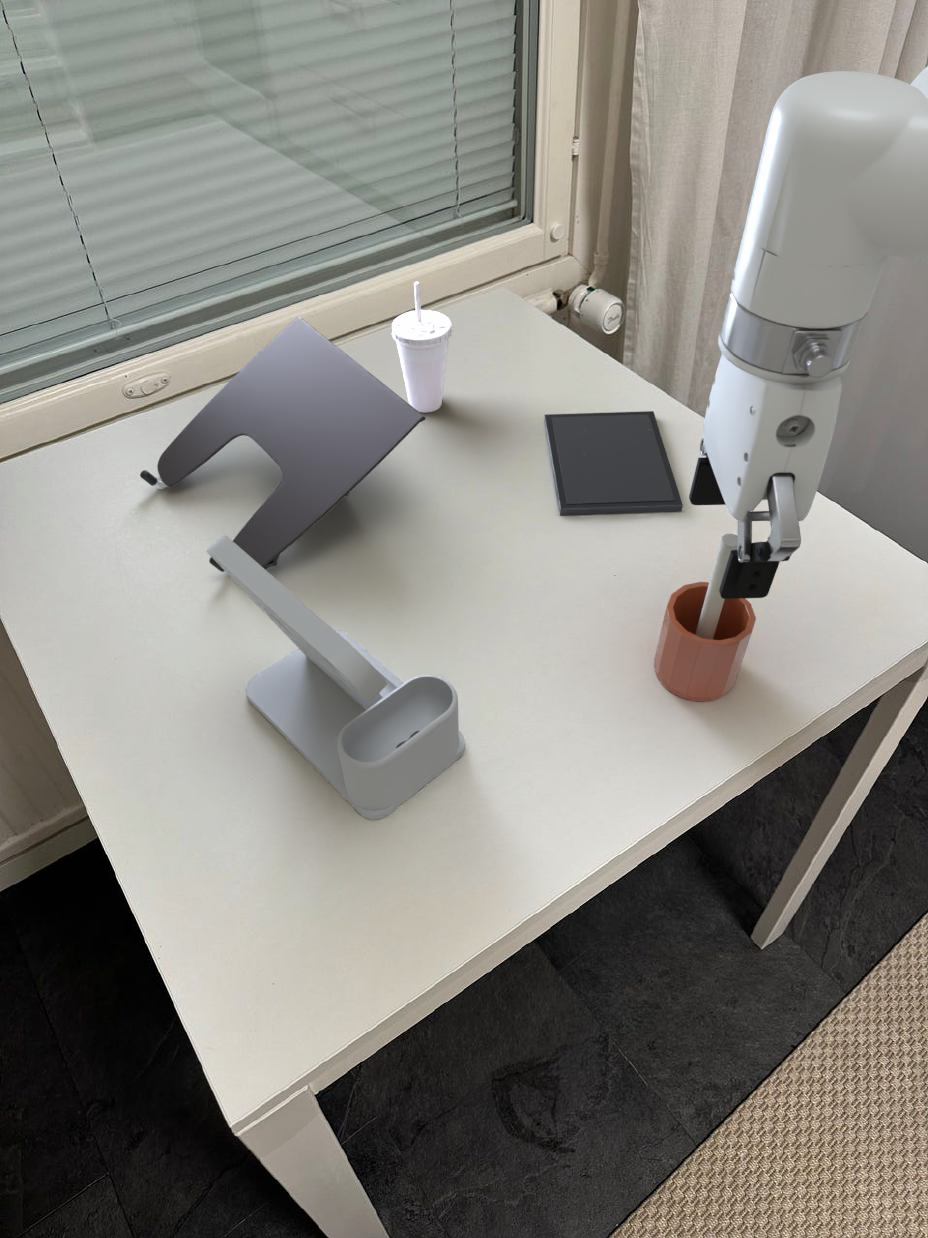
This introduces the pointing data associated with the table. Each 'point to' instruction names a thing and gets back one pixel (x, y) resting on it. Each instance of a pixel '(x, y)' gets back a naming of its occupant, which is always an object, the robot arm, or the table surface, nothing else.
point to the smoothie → (423, 354)
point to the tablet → (610, 464)
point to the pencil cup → (701, 645)
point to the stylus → (715, 589)
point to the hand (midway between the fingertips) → (725, 546)
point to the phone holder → (347, 701)
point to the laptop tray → (295, 433)
